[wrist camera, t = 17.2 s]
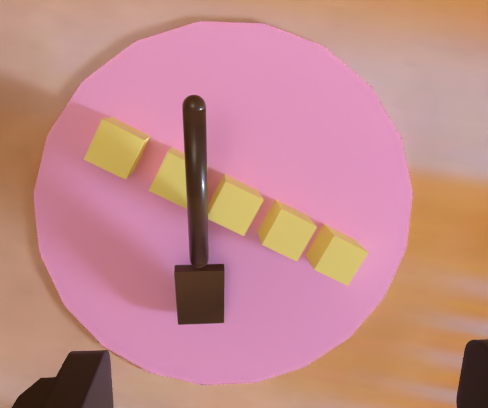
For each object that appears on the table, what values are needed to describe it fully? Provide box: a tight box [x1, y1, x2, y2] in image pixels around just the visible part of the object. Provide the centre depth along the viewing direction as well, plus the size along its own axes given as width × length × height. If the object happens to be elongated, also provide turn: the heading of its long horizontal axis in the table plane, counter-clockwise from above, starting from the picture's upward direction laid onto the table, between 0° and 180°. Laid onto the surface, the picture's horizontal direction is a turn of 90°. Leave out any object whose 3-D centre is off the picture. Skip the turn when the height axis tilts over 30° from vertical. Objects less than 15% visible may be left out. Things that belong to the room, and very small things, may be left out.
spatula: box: [174, 95, 225, 325], centre depth 31 cm, size 18×4×11 cm
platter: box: [33, 21, 413, 385], centre depth 34 cm, size 32×32×3 cm
